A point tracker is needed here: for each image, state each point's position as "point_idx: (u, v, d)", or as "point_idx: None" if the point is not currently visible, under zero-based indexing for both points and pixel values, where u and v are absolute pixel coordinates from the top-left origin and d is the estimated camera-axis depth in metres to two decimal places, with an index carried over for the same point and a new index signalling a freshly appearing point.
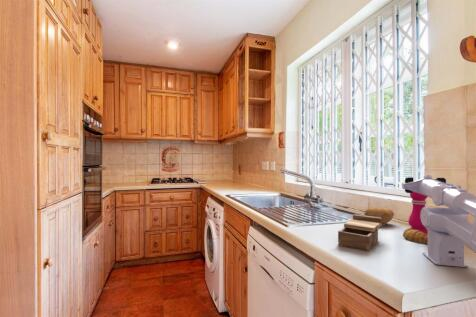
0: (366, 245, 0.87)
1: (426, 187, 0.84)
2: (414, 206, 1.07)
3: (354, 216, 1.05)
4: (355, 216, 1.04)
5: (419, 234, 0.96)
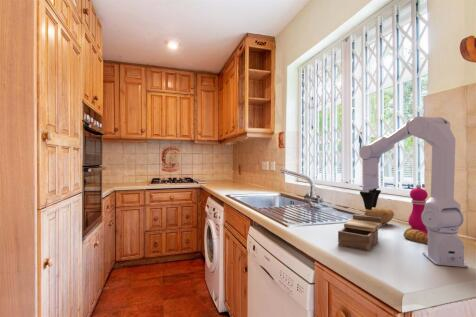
0: (366, 245, 0.87)
1: (363, 170, 1.07)
2: (414, 206, 1.07)
3: (354, 216, 1.05)
4: (355, 216, 1.04)
5: (420, 234, 0.97)
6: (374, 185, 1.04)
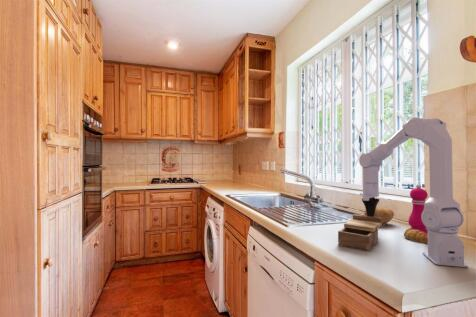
0: (366, 245, 0.87)
1: (363, 178, 1.07)
2: (414, 206, 1.07)
3: (354, 216, 1.05)
4: (355, 216, 1.04)
5: (420, 234, 0.97)
6: (374, 193, 1.04)
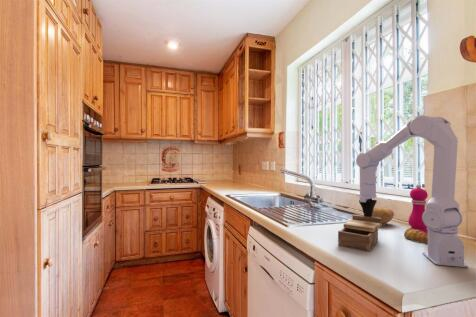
0: (366, 245, 0.87)
1: (360, 179, 1.03)
2: (414, 206, 1.07)
3: (354, 216, 1.04)
4: (355, 216, 1.04)
5: (420, 234, 0.97)
6: (371, 194, 1.01)
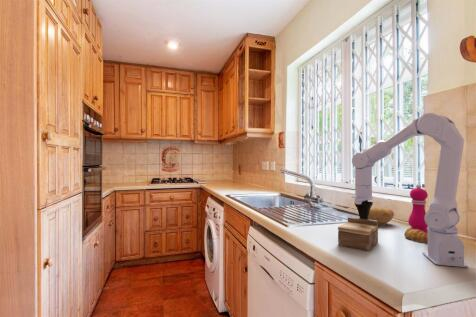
0: (366, 245, 0.87)
1: (357, 180, 0.98)
2: (414, 206, 1.07)
3: (349, 219, 1.00)
4: (350, 219, 1.00)
5: (421, 234, 0.97)
6: (367, 196, 0.96)
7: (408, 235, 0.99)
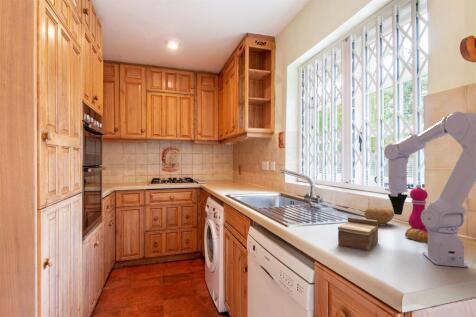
0: (366, 245, 0.87)
1: (389, 172, 0.96)
2: (414, 206, 1.07)
3: (349, 219, 1.00)
4: (350, 219, 1.00)
5: (422, 233, 0.97)
6: (403, 188, 0.93)
7: (409, 235, 1.00)
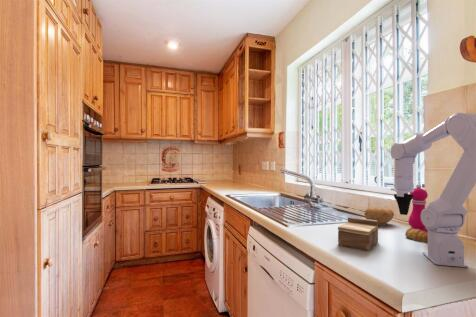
0: (366, 245, 0.87)
1: (395, 171, 0.95)
2: (414, 206, 1.07)
3: (349, 219, 1.00)
4: (350, 219, 1.00)
5: (422, 233, 0.97)
6: (409, 188, 0.92)
7: (409, 235, 1.00)
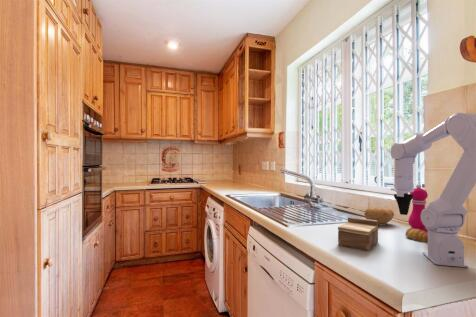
0: (366, 245, 0.87)
1: (395, 171, 0.95)
2: (414, 206, 1.07)
3: (349, 219, 1.00)
4: (350, 219, 1.00)
5: (422, 233, 0.97)
6: (409, 188, 0.92)
7: (409, 235, 1.00)
